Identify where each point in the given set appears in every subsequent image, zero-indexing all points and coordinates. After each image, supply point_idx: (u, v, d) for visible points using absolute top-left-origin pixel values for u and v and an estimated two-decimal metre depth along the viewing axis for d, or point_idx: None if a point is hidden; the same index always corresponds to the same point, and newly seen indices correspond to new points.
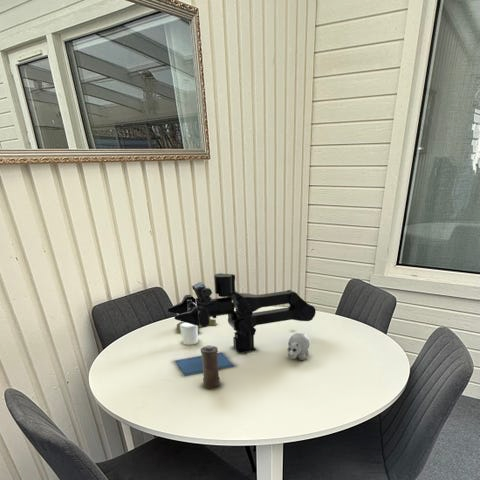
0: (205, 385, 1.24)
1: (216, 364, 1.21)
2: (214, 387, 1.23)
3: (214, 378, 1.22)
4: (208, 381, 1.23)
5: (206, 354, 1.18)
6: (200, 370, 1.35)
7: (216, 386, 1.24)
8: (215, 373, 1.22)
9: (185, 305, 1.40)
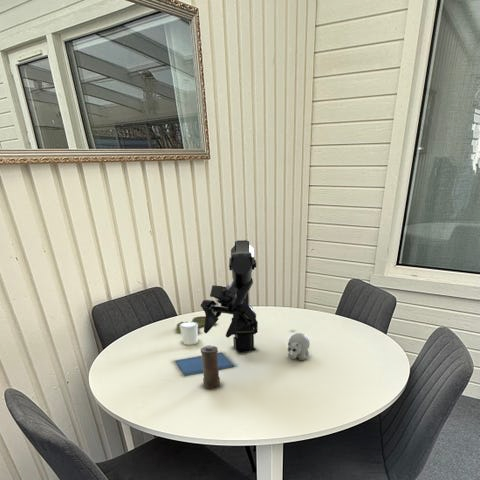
0: (205, 385, 1.24)
1: (216, 364, 1.21)
2: (214, 387, 1.23)
3: (214, 378, 1.22)
4: (208, 381, 1.23)
5: (206, 354, 1.18)
6: (200, 370, 1.35)
7: (216, 386, 1.24)
8: (215, 373, 1.22)
9: (211, 314, 1.28)
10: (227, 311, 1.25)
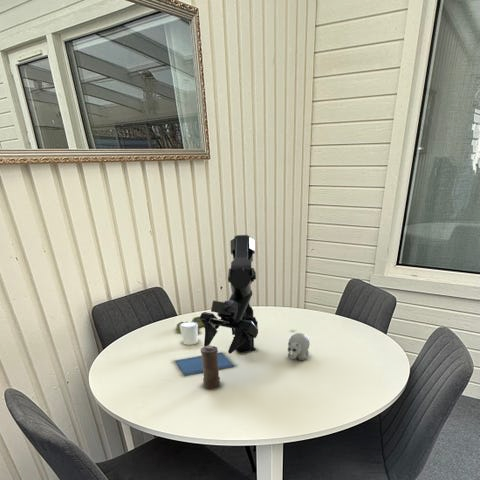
0: (205, 385, 1.24)
1: (216, 364, 1.21)
2: (214, 387, 1.23)
3: (214, 378, 1.22)
4: (208, 381, 1.23)
5: (206, 354, 1.18)
6: (200, 370, 1.35)
7: (216, 386, 1.24)
8: (215, 373, 1.22)
9: (211, 327, 1.25)
10: (228, 325, 1.23)
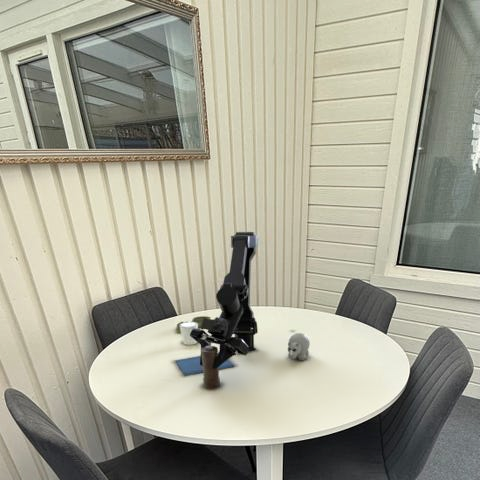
0: (205, 385, 1.24)
1: None
2: (214, 387, 1.23)
3: (214, 378, 1.22)
4: (208, 381, 1.22)
5: (206, 354, 1.18)
6: (200, 370, 1.35)
7: (216, 386, 1.24)
8: (215, 373, 1.22)
9: (207, 345, 1.23)
10: (218, 342, 1.22)
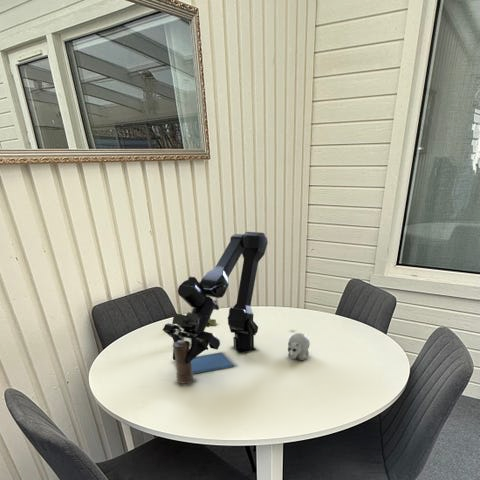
0: (178, 379, 1.26)
1: None
2: (187, 381, 1.26)
3: (187, 372, 1.25)
4: (181, 375, 1.25)
5: (178, 348, 1.20)
6: (200, 370, 1.35)
7: (189, 380, 1.26)
8: (188, 367, 1.24)
9: None
10: (190, 337, 1.24)
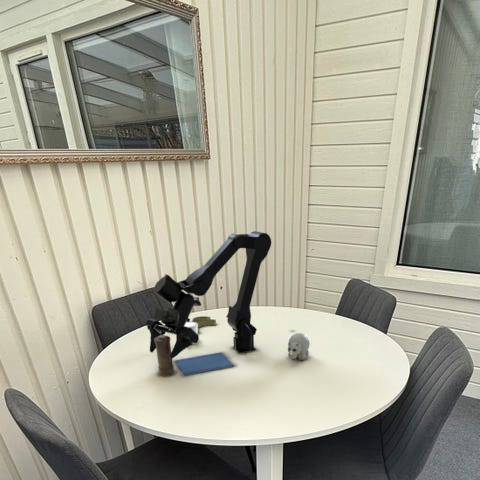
0: (160, 372, 1.33)
1: (169, 352, 1.30)
2: (168, 374, 1.32)
3: (168, 366, 1.31)
4: (162, 368, 1.31)
5: (159, 343, 1.27)
6: (200, 370, 1.35)
7: (170, 373, 1.33)
8: (168, 361, 1.31)
9: (156, 333, 1.33)
10: (171, 331, 1.30)
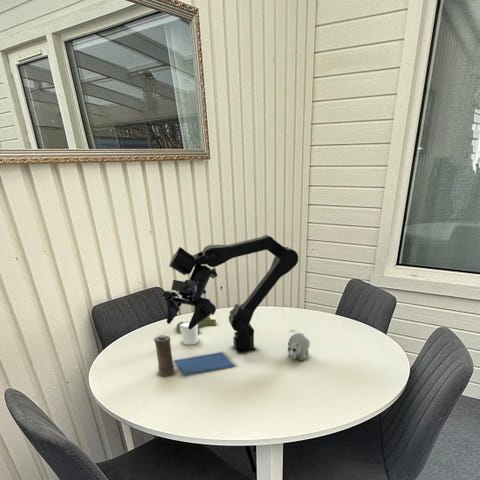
0: (160, 372, 1.33)
1: (169, 352, 1.30)
2: (168, 374, 1.32)
3: (168, 366, 1.31)
4: (162, 368, 1.31)
5: (159, 343, 1.27)
6: (200, 370, 1.35)
7: (170, 373, 1.33)
8: (168, 361, 1.31)
9: (173, 305, 1.35)
10: (188, 303, 1.33)
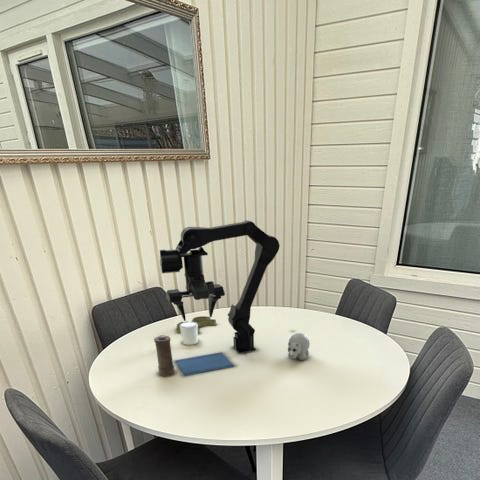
0: (160, 372, 1.33)
1: (169, 352, 1.30)
2: (168, 374, 1.32)
3: (168, 366, 1.31)
4: (162, 368, 1.31)
5: (159, 343, 1.27)
6: (200, 370, 1.35)
7: (170, 373, 1.33)
8: (168, 361, 1.31)
9: None
10: None
